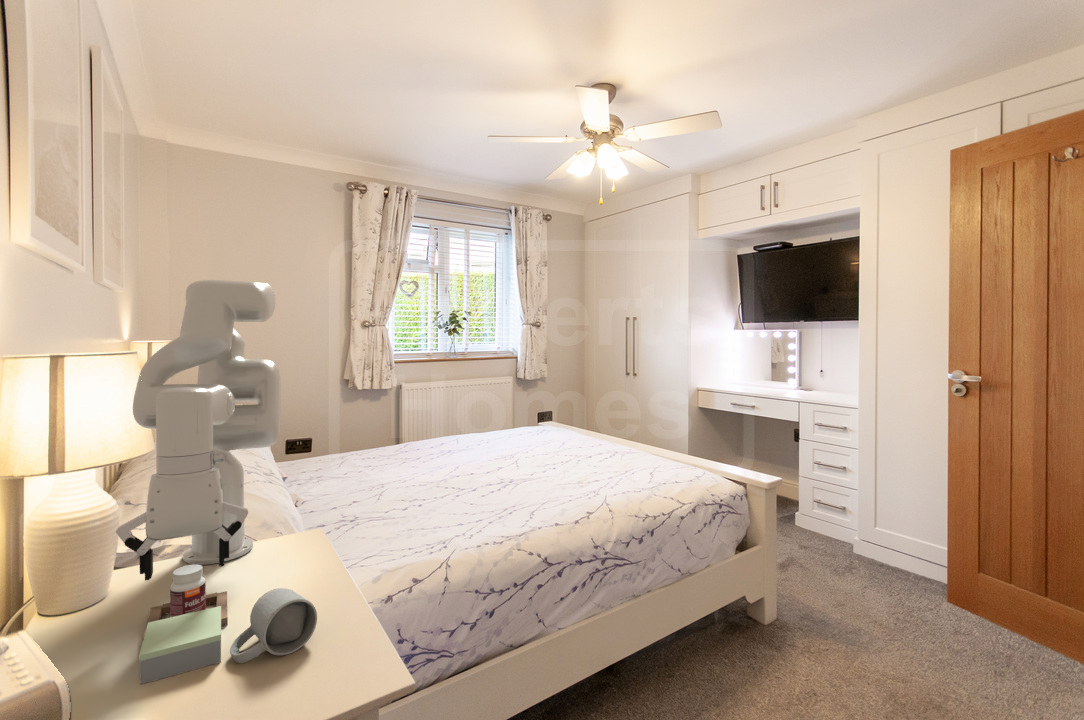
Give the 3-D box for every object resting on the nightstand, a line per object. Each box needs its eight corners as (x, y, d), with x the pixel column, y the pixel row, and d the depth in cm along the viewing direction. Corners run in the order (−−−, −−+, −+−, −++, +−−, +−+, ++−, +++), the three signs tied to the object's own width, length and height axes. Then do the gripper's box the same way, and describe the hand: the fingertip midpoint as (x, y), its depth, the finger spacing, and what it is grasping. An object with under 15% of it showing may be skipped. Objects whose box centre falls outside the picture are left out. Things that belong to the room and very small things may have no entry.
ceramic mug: (296, 621, 82) (295, 575, 82) (318, 641, 77) (317, 592, 76) (222, 651, 74) (220, 601, 74) (241, 676, 69) (239, 622, 69)
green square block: (148, 649, 75) (148, 622, 74) (221, 630, 79) (221, 605, 79) (139, 684, 67) (139, 655, 67) (221, 662, 72) (220, 634, 72)
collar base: (151, 613, 84) (151, 606, 84) (227, 596, 90) (227, 590, 90) (142, 647, 75) (142, 639, 75) (227, 625, 81) (227, 618, 81)
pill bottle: (188, 629, 80) (187, 577, 79) (162, 626, 81) (162, 574, 80) (213, 613, 84) (212, 564, 84) (189, 610, 85) (188, 561, 85)
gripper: (246, 454, 89) (247, 551, 89) (120, 466, 80) (121, 574, 80) (248, 462, 83) (249, 566, 83) (111, 475, 73) (112, 592, 74)
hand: (186, 570), depth 81 cm, fingers open, 9 cm apart
